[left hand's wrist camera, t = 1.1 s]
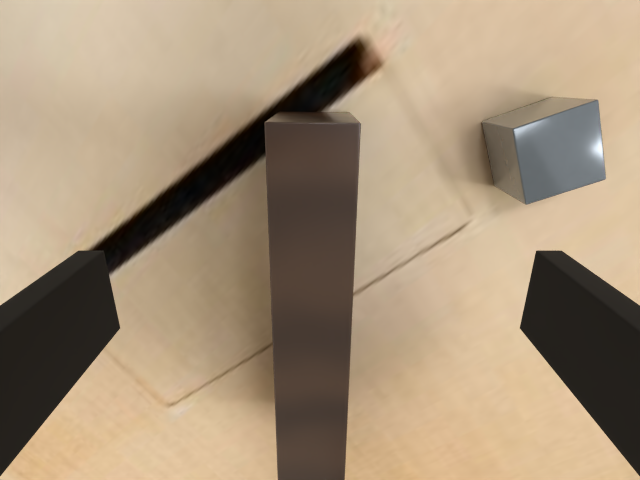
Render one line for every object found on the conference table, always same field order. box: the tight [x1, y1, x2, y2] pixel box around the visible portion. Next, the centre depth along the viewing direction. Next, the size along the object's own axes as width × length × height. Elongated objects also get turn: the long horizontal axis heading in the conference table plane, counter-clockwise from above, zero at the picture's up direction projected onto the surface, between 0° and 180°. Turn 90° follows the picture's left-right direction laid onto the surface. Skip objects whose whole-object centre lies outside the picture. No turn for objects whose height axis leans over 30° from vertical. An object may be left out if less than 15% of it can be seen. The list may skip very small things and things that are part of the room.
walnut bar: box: [265, 112, 361, 480], centre depth 29 cm, size 26×5×8 cm, turn 0°
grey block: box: [482, 97, 606, 205], centre depth 27 cm, size 5×5×5 cm
